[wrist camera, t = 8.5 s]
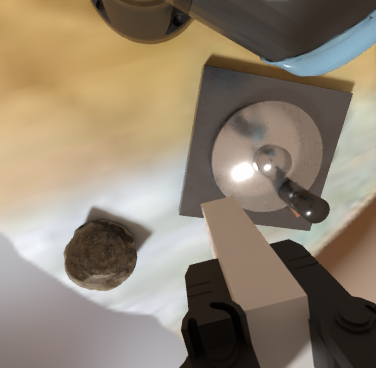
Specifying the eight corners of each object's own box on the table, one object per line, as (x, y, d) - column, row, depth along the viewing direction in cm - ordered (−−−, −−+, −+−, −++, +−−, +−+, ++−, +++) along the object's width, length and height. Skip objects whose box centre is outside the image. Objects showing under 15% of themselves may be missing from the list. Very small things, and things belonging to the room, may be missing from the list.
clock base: (202, 67, 38) (210, 58, 31) (343, 94, 40) (379, 91, 33) (178, 210, 43) (181, 229, 37) (303, 225, 46) (327, 246, 39)
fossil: (139, 217, 43) (134, 276, 35) (139, 248, 49) (134, 303, 42) (69, 214, 41) (48, 275, 34) (78, 247, 48) (62, 304, 40)
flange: (189, 146, 38) (196, 158, 29) (284, 76, 36) (321, 67, 27) (256, 238, 43) (279, 272, 34) (342, 181, 41) (389, 201, 32)
